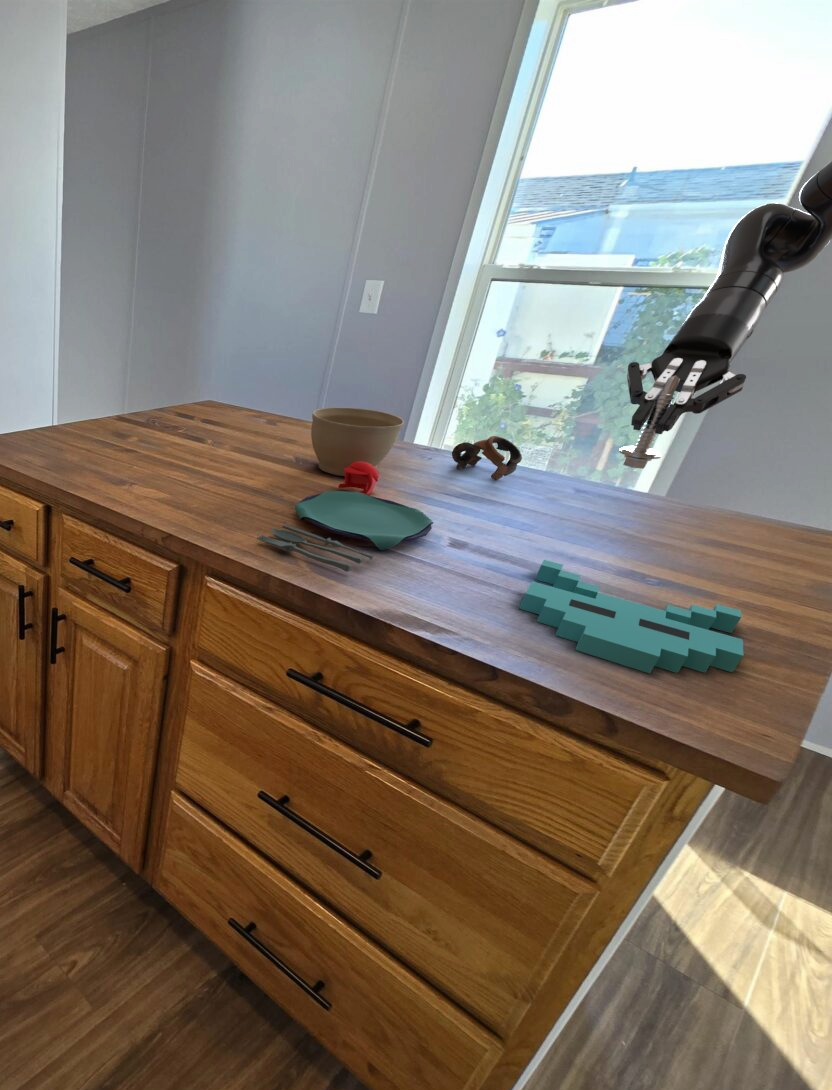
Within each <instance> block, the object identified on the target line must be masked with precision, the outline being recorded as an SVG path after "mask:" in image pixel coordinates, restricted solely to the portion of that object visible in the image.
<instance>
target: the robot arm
mask: <svg viewBox="0 0 832 1090" xmlns="http://www.w3.org/2000/svg"><path fill="white" fill-rule="evenodd" d="M798 198H799V199H798V200H799V203H800V205H801V206H802V208H803V209H804V210H805V211H804V210H803V211H802V210H801V209H797V208H794V207H793V206H789V205H788V204H784V203H780V202H769V203H765V204H762V205H760V206H757V207H755V208H754V209H752V210H750V211H749V212H747V213H746V214H745V215H743V216H742V217H741V219H739V220H738V222H737V223H736V224H735V225H734V226H733V228H732V229H731V231H730V232H729V234H728V237H727V239H726V241H725V244H724V247H723V250H722V254H721V259H720V263H719V267H718V271H717V274H716V278H715V280H714V281H713V283H712V284H711V285H710V287H709V288H708V290H707V291H706V292H705V293H704V296H702V298H701V300H700V301H699V302H698V303H697V304H696V305H695V306H694V308H692V310H691V311H690V313H688V315H687V317H686V319H685V320H684V321H683V322H682V324H681V326H680V327H679V329H678V330H677V331H676V333H675V335H674V336H673V337H672V339H671V340H670V342H668V345H667V346H666V348H664V350H663V352H662V353H661V354H659V355H658V356H656V357H655V358H654V359H652V361H651V362H649V363H648V362H647V363H642V364H639V362H637V361H632V362H630V363H629V364H628V365H627V372H626V380H627V381H626V382H627V387H628V394H629V402H630V403H631V404H632V405H639V406H637V408H636V409H635V411H634V413H633V414H632V416H631V423H630V425H631V426H633V429H632V430H633V431H641V429H643V428H644V427H643V426H644V425H646V424H645V423H647V421H648V420H647V419H649V417H650V416H648V415H651V412H650V411H652V410H653V407H654V406H655V403H656V401H657V398H658V397H659V396H660V395H659V394H661V393H662V390H663V388H664V386H665V384H666V382H667V380H668V378H669V377H672V376H675V375H676V376H677V377H679V378H680V381H679V383H678V385H677V388H676V390H675V392H677V393H678V395H677V396H676V399H675V401H674V402H673V403H671V404H670V405H669V408H668V409H667V410H666V412H665V413H664V415H663V416H662V418H661V419H660V421H659V422H658V424H657V426H656V430H655V433H656V435H662V434H663V433H664V432H669V431H671V430H672V429H673V427H675V424H676V423H677V422H678V420H679V419H680V417H681V416H682V415H683V414H685V413H692V414H696V415H698V414H702V413H704V412H706V411H707V410H709V409H711V408H713V407H714V406H717V405H718V404H720V403H722V402H723V401H725V400H727V399H729V398H731V397H733V396H734V395H736V394H738V393H740V392H742V391H743V388H744V387H745V383H746V379H747V375H746V374H744V373H738V374H735V373H733V372H732V371H731V364H732V362H733V361H734V359H735V358H736V356H737V355H738V353H739V351H740V350H741V349H742V347H743V346H744V345H745V343H746V342H747V340H748V339H749V338H750V337H751V336H752V334H753V333H754V331H755V329H756V327H757V325H758V324H759V322H760V320H761V317H762V315H763V313H764V312H765V309H766V308H767V307H768V305H769V304H770V302H771V301H772V299H773V298H774V296H776V294H777V293H778V291H779V289H780V287H781V286H782V284H783V281H784V277H785V276H784V275H785V274H784V273H791V272H794V271H796V270H799V269H801V268H803V267H805V266H807V265H808V264H810V263H811V262H813V261H814V260H815V259H816V258H817V257H818V256H819V255H820V254H821V253H822V252H823V250H824V249H826V247H827V246H828V245H829V243H830V242H831V241H832V160H830V161H829V162H828V163H826V164H825V165H824V166H823V167H822V168H821V169H820V170H818V171H817V172H816V173H815V174H814V175H813V176H812V177H810V178H809V179H808V180H807V182H805V183H804V185H803V186H802V187H801V189H800V191H799V196H798ZM649 373H651V375H652V378H653V379H654V383H653V385H652V386H651V388H650V389H649V390H648V392H647V391H645V390H644V387H643V380H644V379H646V378H647V375H648V374H649ZM717 383H718V384H717ZM714 384H717V385H715V386H714V387H712V388H710V389H708V390H706V391H705V392H703V393H701V394H699V395H698V396H695V395H696V393H697V392H698V391H701V390H703V389H705V388H707V387H710V386H712V385H714Z"/></svg>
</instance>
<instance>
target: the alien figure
mask: <svg viewBox="0 0 832 1090" xmlns="http://www.w3.org/2000/svg"><path fill="white" fill-rule="evenodd" d="M563 567H564V564H562V563H558V562H555V561H551V560H547V559H543V561H542V563H541V565H540V567H539V569H538V571H537V573H536V575H535V578H534V580H535V581H531V582H530V584H529V586H528V588H527V589H526V591H525V594H524V596H523V598H522V601H521V603H520V605H519V607H518V609H519V610H523V611H526V612H530V613H532V614H536V615H538V617H537V619H536V622H538V623H541V624H543V625H547V626H550V627H553V628H556V629H557V630H556V632H555V635H554V636H557V637H560V638H562V639H566V640H570V641H573V642H576V643H577V644H576V647H575V651H578V652H580V653H584V654H587V655H590V656H593V657H597V658H600V659H602V660H606V661H609V662H612V663H616V664H618V665H621V666H624V667H628V668H631V669H633V670H636V671H637V670H638V671H639V672H640V671H641V672H644V673H647V674H651V673H652V670H653V669H654V668H660V669H662V670H665V671H669V672H671V673H675V674H678V673H679V672H680V670H681V668H682V667H685V668H688V669H690V670H694V671H698V672H701V673H703V674H704V673H706V672H707V671H708V669H709V667H713V668H716V669H719V670H723V671H726V672H729V673H733V672H734V671H735V669H736V668H737V666H738V665H739V663H740V662H741V661H742V659H743V657H744V655H745V654H744V640H743V638H739V637H735V636H732V635H728V634H724V633H722V632H726V633H729V634H732V633H733V631H734V630H735V628H736V627H737V625H738V624H739V622H740V620H741V618H742V610H741V609H736V608H733V607H729V606H725V605H721V604H718V603H717V604H715V605H714V607H713V609H711V608H708V607H703V606H699V605H697V604H696V605H695V604H691V605H690V607H689V609H687V608H686V609H685V608H681V607H678V606H674V605H670V604H666V606H665V608H664V609H660V608H656V607H652V606H648V605H644V604H641V603H637V602H633V601H630V600H626V599H623V598H619V597H616V596H615V597H614V596H612V595H609V594H604V593H601V592H599V590H600V588H601V587H600V585H595V584H592V583H588V582H584V581H582V580H581V581H580V579H581V577H582V575H581V574H577V573H574V572H570V571H566V570H563V569H562V568H563ZM537 581H540V582H543V583H547V584H550V585H547V584H543V583H539V582H537ZM551 585H553V586H551ZM710 628H711V629H714V630H719V631H722V632H717V631H714V630H710Z"/></svg>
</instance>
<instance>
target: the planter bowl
mask: <svg viewBox="0 0 832 1090" xmlns="http://www.w3.org/2000/svg"><path fill="white" fill-rule="evenodd" d="M311 418H312V422H311V428H310V429H311V430H310V437H311V445H312V449H313V452H314V454H315V456H316V458H317V459H318V468H319V469H320V470H321V471H322V472H325V473H328V474H330V475H334V476H340V477H345V471H344V469H345V468H347V467H349V465H351V464H352V463H353V462H359V461H361V462H367V463H369V464H371V465H372V466H374V467H375V468H376V466H377V465H379V464H380V463H381V462H382V461H383V460H384V459H385V458H386V457H387V456H388V454H389V453H390V452H391V451H392V449H393V448H394V446H395V444H396V442H397V440H398V438H399V435H400V432H401V430H402V428H403V427H404V424H405V421H404V419H403V418H402V417H400V416H397V415H395V414H392V413H389V412H384V411H380V410H375V409H374V410H373V409H366V408H358V407H341V406H340V407H332V406H331V407H323V408H317V409H315V410H313V412H312V415H311Z"/></svg>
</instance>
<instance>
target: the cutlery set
mask: <svg viewBox="0 0 832 1090" xmlns="http://www.w3.org/2000/svg"><path fill="white" fill-rule="evenodd" d="M359 492H360V491H346V490H345V491H343V490H334V491H333V490H326V491H323V492H322V493H318V494H313V495H309V496H306V497H304V498H303V499H301V500H300V501H299V502H297V503H296V504H295V505H294V511H295V513H296V514H297V516H298V518H299V519H300V521H305V520H306V521H308V522H310V523H311V524H313V525H314V526H316V527H318V528H321V529H323V530H325V531H328V532H329V533H333V534H337V535H340V536H344V537H347V538H352V539H359V540H365V541H371V542H372V543H374V544H375V546H376V547H377V549H378V550H380V551H384V550H385V551H386V550H388V549H390V548H393V547H396V546H397V545H398V544H399V543H400V542H408V541H414V540H417V539H420V538H423V537H426V536H427V535H428V534H429V533H430V532H431V531H432V529H433V527H432V525H433V524H434V521H433V520H432V519H431V518H429V516H427V514H425V513H424V512H423V511H422V510H420V509H417V508H415V507H410V506H407V505H404V504H402V503H398V502H395V501H392V500H390V499H384V498H381V497H376V496H371V495H366V494H363V493H359ZM281 528H282V529H279V528H272V529H269V531H270V532H271V534H273V535H274V537H275V539H274V538H271V537H268V536H265V535H263V534H261V535H260V536H257V537H256V539H257V540H259V541H260V542H262V543H265V544H268V545H270V546H273V547H275V548H277V549H279V550H282V551H284V552H287V553H292V552H297V553H298V554H301V555H303V556H305V557H306V558H309V559H312V560H314V561H317V562H319V563H322V564H325V565H329V566H332V567H335V568H338V569H340V570H342V571H344V572H347V573H348V572H350V571H351V570H352V567H353V566H352V564H350V563H346V562H342V561H340V560H337V559H332V558H328V557H325V556H321V555H319V554H316V553H312V552H310V551H308V550H305V549H303V548H301V547H299V546H297V545H304V546H308V547H311V548H314V549H318V550H320V551H323V552H328V553H331V554H333V555H336V556H339V557H341V558H345V559H347V560H349V561H351V562H354V563H356V564H359V565H360V564H363V563H364V560H365V558H364V557H366V558H368V559H369V560H370V561H373V559H374V556H375V554H369V553H367V552H364V551H360V550H357V549H354V548H352V547H350V546H347V545H345V544H343V543H341V542H340V541H338V540H332V539H331V537H328V538H324V537H322V536H320V535H317V534H314V533H312V532H309V531H306V530H304V529H300V528H297V527H295V526H291V525H285V524H282V526H281ZM304 536H305V537H308V538H310V539H314V540H316V541H319V542H322V543H324V546H322V545H319V544H315V543H310V542H308V541H307V539H306V538H305V537H304ZM328 545H330V546H331V547H333V548H331V547H328ZM326 546H327V547H326ZM334 547H335V548H342V549H345V550H348V551H351V552H353V553H356V554H359V555H361V556H357V555H353V554H352V553H347V552H345V551H342V550H338V549H335V548H334ZM362 556H364V557H362Z"/></svg>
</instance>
